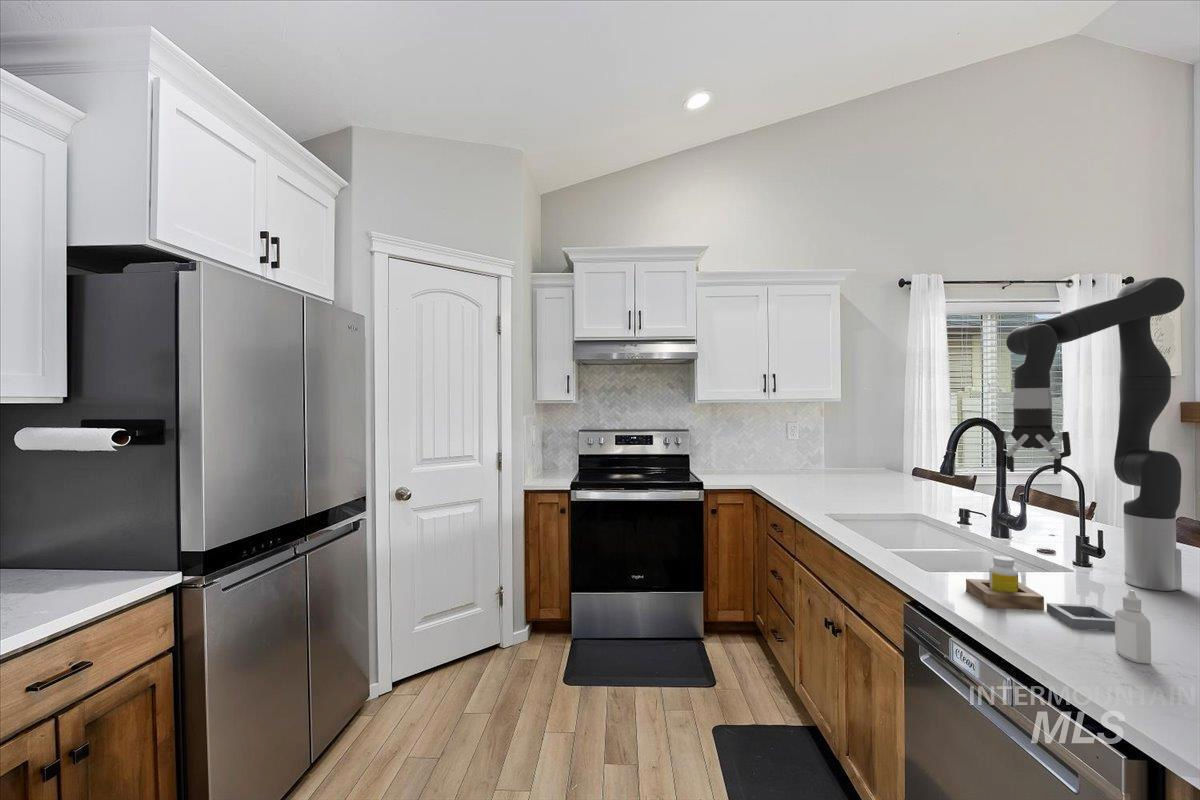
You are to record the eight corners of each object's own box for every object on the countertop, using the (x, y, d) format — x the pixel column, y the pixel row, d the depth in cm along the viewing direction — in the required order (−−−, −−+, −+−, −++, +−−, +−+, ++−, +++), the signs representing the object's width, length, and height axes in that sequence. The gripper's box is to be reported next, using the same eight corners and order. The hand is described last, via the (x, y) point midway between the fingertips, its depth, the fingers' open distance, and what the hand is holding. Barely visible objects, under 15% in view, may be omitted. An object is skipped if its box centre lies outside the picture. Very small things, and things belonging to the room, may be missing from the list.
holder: (1094, 614, 120) (1094, 605, 120) (1124, 631, 112) (1124, 621, 112) (1046, 612, 122) (1046, 603, 122) (1072, 628, 113) (1072, 618, 113)
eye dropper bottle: (1118, 660, 100) (1116, 592, 100) (1114, 648, 104) (1113, 583, 104) (1152, 666, 97) (1151, 597, 97) (1147, 655, 102) (1146, 588, 102)
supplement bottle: (1023, 605, 126) (1022, 561, 126) (996, 604, 128) (995, 560, 128) (1011, 597, 132) (1010, 555, 132) (985, 595, 133) (984, 554, 133)
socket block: (1017, 593, 134) (1017, 581, 134) (1044, 610, 123) (1043, 596, 123) (966, 591, 136) (966, 578, 136) (988, 607, 125) (987, 594, 125)
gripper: (1070, 406, 136) (1071, 473, 136) (998, 406, 146) (999, 469, 146) (1069, 407, 131) (1070, 476, 131) (995, 407, 140) (996, 472, 140)
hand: (1033, 472), depth 138 cm, fingers open, 8 cm apart
